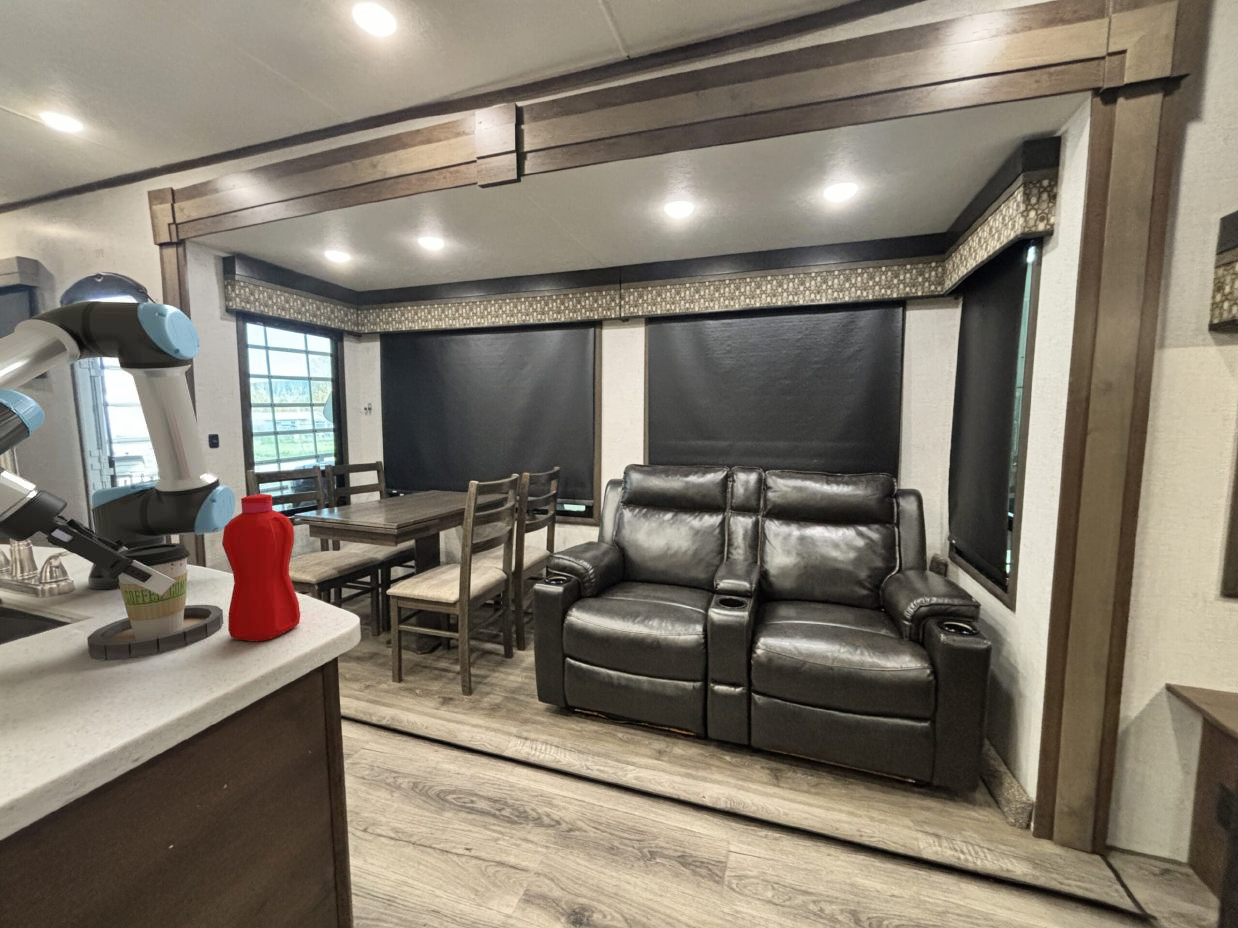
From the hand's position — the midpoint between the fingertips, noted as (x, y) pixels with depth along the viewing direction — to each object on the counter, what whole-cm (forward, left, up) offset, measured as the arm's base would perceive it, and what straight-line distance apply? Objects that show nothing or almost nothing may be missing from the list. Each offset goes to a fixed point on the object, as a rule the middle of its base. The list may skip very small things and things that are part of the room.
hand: (161, 579), depth 85 cm
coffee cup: (0, -1, -10) cm, 10 cm away
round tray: (0, -1, -10) cm, 10 cm away
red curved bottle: (+7, +15, -10) cm, 19 cm away
